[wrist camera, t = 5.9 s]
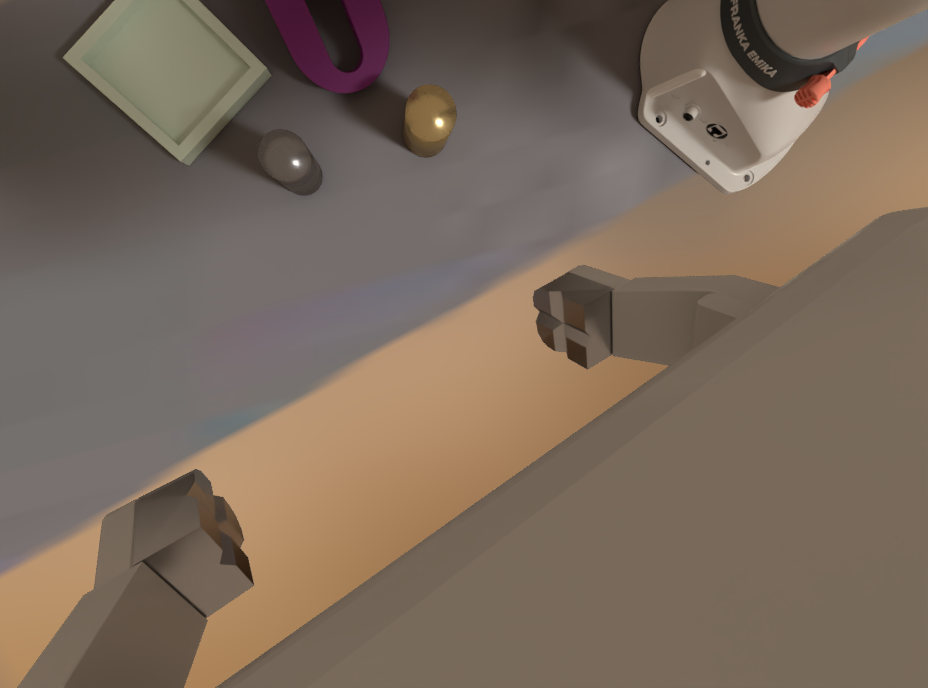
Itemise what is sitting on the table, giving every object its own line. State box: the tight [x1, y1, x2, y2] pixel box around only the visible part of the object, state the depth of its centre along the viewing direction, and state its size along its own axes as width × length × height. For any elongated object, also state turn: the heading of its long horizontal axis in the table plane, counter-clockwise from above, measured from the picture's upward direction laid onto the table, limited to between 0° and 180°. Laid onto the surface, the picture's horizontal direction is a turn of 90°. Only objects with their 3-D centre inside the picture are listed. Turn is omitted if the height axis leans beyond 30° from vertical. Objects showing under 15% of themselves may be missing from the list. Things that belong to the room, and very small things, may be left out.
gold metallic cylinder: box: [403, 85, 457, 157], centre depth 43 cm, size 5×5×7 cm
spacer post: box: [258, 129, 323, 195], centre depth 41 cm, size 4×4×9 cm
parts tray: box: [63, 0, 272, 166], centre depth 41 cm, size 12×12×2 cm
